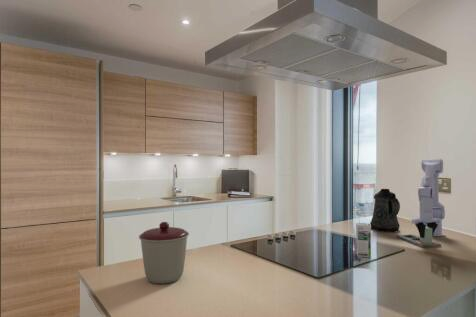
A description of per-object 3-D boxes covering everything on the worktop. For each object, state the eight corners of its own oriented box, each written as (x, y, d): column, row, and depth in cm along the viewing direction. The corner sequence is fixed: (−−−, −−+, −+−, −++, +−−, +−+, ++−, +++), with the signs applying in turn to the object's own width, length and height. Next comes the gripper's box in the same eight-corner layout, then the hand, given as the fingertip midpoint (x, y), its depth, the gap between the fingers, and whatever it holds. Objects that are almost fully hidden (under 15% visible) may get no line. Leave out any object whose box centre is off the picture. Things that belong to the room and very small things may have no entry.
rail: (396, 237, 177) (396, 234, 177) (412, 236, 178) (412, 234, 178) (423, 247, 156) (423, 244, 156) (441, 246, 157) (441, 244, 157)
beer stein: (378, 225, 208) (377, 187, 208) (409, 230, 193) (409, 189, 193) (365, 229, 197) (364, 189, 197) (397, 234, 182) (396, 191, 182)
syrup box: (357, 256, 142) (357, 224, 142) (356, 253, 148) (356, 222, 148) (370, 258, 141) (370, 225, 141) (369, 254, 146) (369, 222, 146)
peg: (419, 242, 162) (419, 226, 162) (426, 242, 163) (426, 226, 163) (425, 244, 159) (425, 228, 159) (432, 244, 159) (432, 228, 159)
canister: (137, 273, 123) (137, 219, 123) (184, 267, 130) (183, 216, 130) (140, 292, 106) (140, 229, 106) (194, 284, 113) (193, 224, 113)
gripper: (418, 212, 155) (418, 240, 155) (445, 211, 157) (445, 238, 157) (408, 209, 162) (409, 236, 162) (434, 209, 164) (434, 235, 164)
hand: (426, 237), depth 160 cm, fingers closed on peg, 4 cm apart
